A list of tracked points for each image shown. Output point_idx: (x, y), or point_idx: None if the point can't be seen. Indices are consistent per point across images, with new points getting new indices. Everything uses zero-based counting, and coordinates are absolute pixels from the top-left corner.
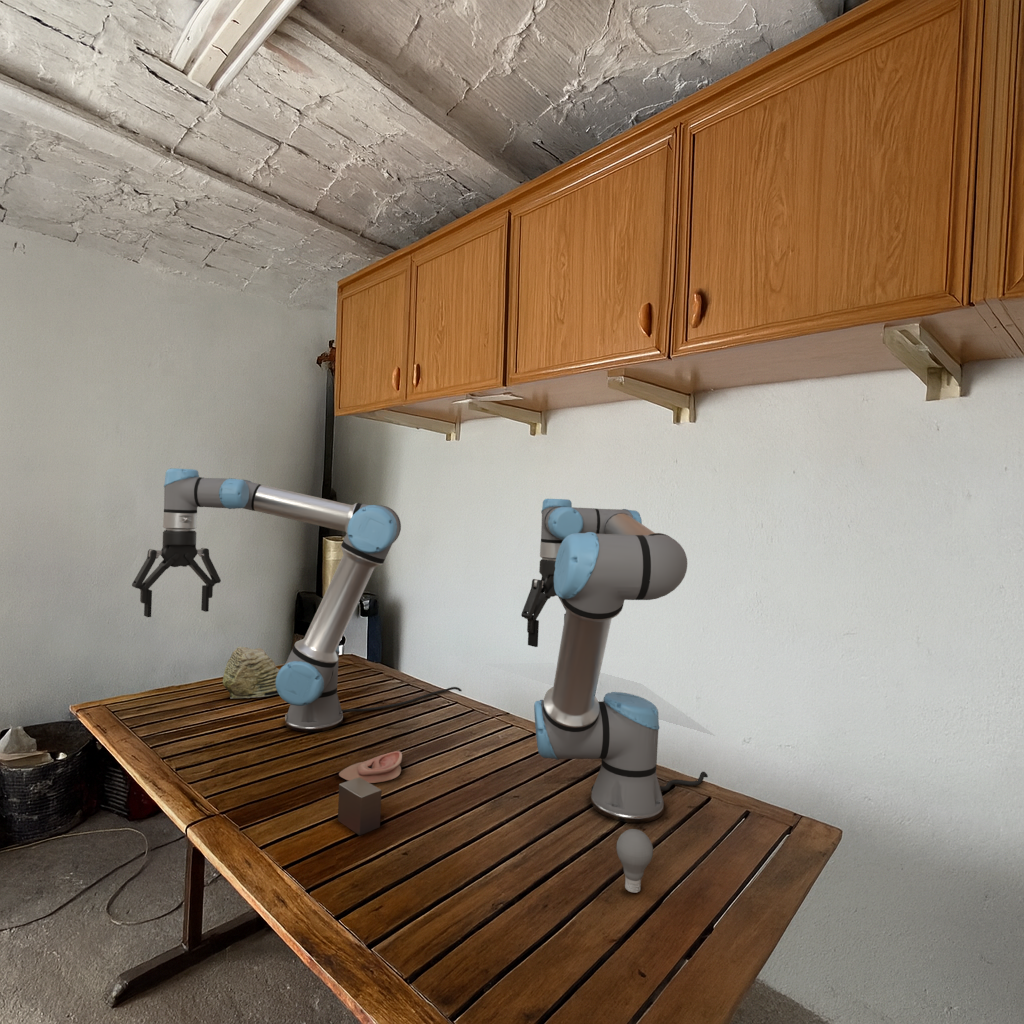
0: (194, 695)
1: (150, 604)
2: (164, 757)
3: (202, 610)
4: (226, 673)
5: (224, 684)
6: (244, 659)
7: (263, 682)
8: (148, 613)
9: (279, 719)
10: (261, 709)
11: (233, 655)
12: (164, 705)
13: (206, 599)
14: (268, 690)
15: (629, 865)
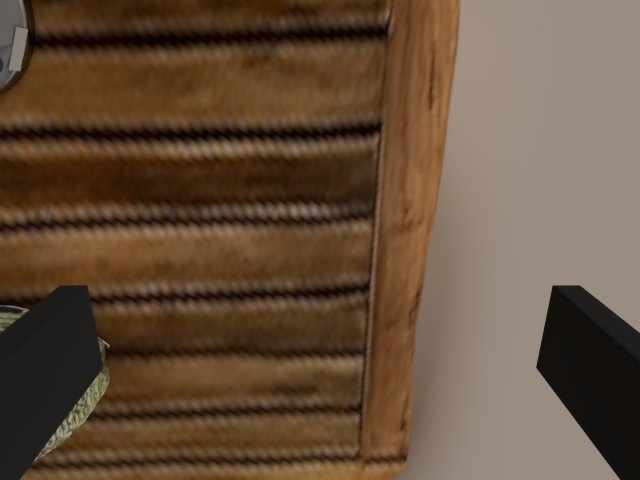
0: (177, 415)
1: (638, 349)
2: (380, 36)
3: (98, 345)
4: (85, 401)
5: (107, 373)
6: None
7: (1, 329)
8: (594, 301)
9: (36, 112)
10: (59, 222)
11: None
12: (257, 388)
13: (4, 353)
14: (3, 315)
15: None
